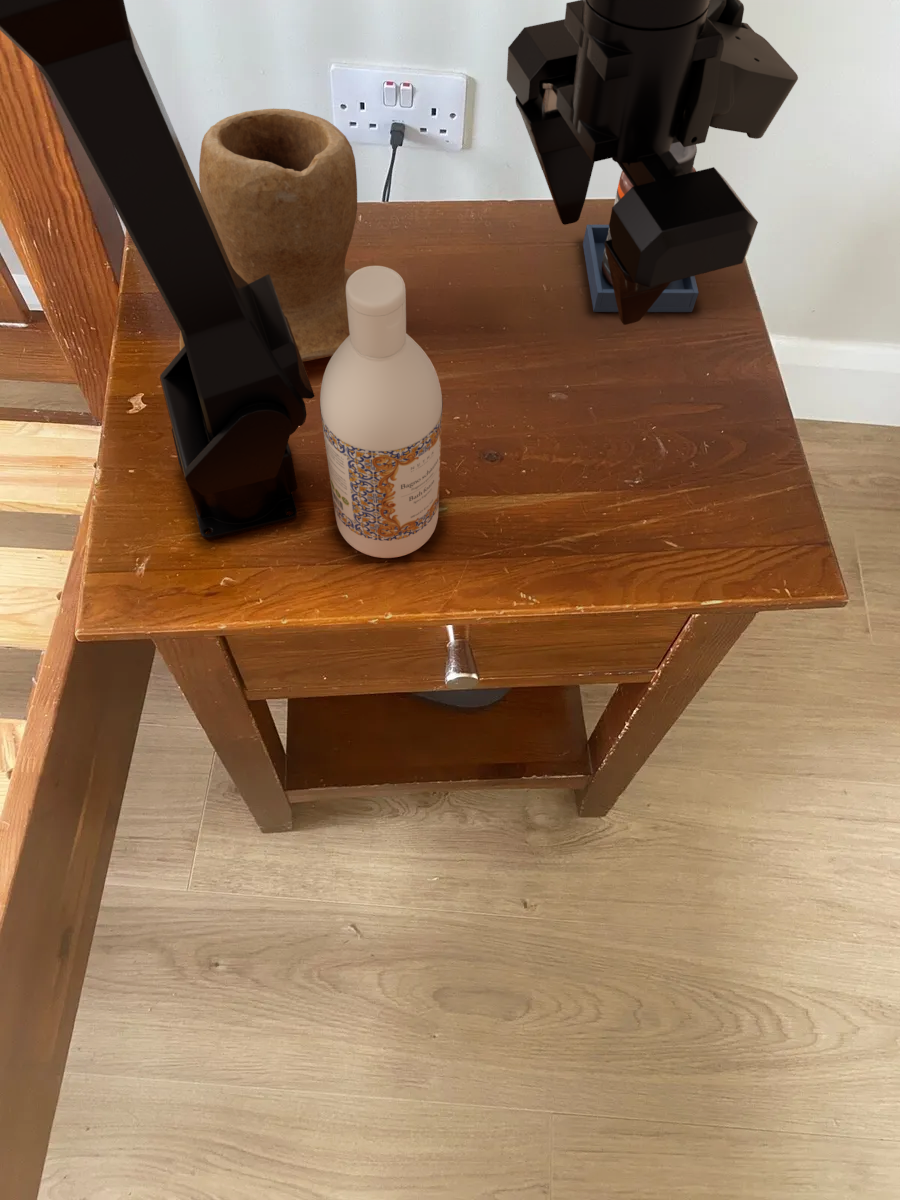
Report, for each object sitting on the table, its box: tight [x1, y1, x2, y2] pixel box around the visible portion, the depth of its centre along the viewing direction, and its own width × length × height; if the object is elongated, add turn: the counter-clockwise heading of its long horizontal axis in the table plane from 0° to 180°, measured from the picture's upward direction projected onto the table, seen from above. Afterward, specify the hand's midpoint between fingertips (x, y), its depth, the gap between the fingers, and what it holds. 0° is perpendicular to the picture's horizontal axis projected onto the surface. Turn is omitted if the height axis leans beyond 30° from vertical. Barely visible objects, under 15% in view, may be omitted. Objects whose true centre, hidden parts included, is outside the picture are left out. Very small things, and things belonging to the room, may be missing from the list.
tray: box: [582, 224, 699, 313], centre depth 72 cm, size 8×8×2 cm
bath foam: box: [319, 265, 444, 559], centre depth 52 cm, size 7×7×20 cm
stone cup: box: [178, 108, 358, 363], centre depth 62 cm, size 15×12×15 cm
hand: (598, 269), depth 54 cm, fingers open, 9 cm apart
